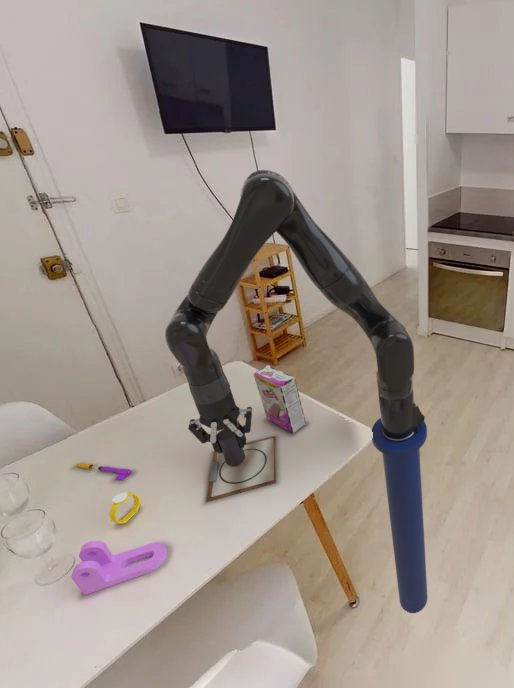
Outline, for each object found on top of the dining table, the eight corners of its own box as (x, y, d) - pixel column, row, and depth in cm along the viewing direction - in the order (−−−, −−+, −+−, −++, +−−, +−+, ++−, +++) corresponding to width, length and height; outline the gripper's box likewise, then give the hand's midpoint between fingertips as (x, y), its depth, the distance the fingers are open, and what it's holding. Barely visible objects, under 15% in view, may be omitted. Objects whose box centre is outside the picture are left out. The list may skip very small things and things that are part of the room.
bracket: (84, 595, 75) (67, 573, 72) (93, 567, 79) (77, 545, 76) (164, 567, 79) (151, 545, 76) (169, 542, 84) (156, 520, 80)
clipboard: (275, 437, 109) (274, 433, 109) (276, 482, 96) (275, 479, 96) (214, 452, 105) (212, 448, 104) (206, 502, 92) (205, 498, 91)
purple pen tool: (133, 471, 100) (79, 463, 103) (130, 469, 99) (76, 461, 102) (125, 481, 98) (71, 473, 101) (122, 479, 97) (67, 471, 100)
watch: (124, 529, 86) (112, 511, 83) (113, 527, 87) (101, 509, 84) (146, 505, 92) (136, 487, 89) (136, 503, 92) (125, 485, 89)
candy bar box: (266, 420, 115) (252, 373, 107) (280, 410, 119) (267, 364, 111) (293, 435, 110) (280, 386, 102) (307, 424, 113) (295, 376, 105)
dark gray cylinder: (246, 453, 104) (237, 425, 99) (246, 465, 100) (235, 437, 96) (228, 457, 103) (217, 429, 98) (226, 470, 99) (215, 442, 94)
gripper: (172, 410, 86) (197, 467, 94) (245, 395, 90) (262, 451, 98) (179, 389, 92) (201, 445, 100) (246, 376, 96) (263, 430, 104)
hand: (231, 447), depth 99 cm, fingers closed on dark gray cylinder, 4 cm apart
